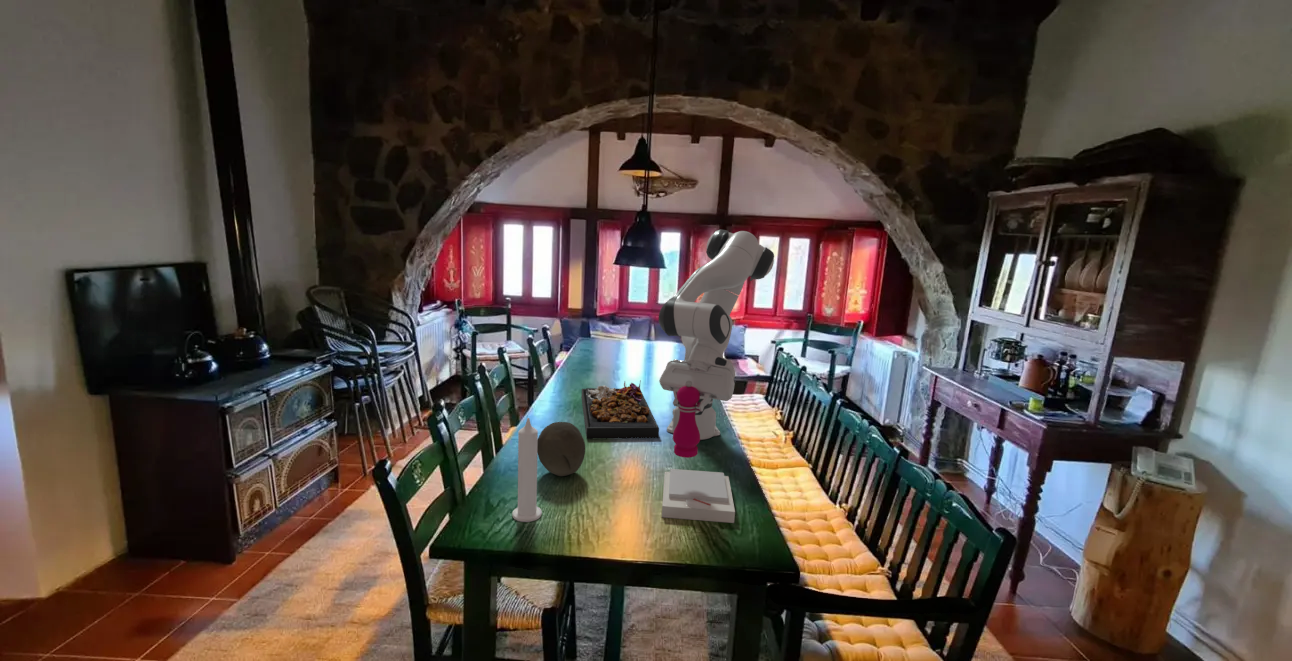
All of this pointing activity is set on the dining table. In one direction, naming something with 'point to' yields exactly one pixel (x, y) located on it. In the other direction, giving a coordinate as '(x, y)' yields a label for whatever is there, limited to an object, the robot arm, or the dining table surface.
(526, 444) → the candle
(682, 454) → the pepper mill
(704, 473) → the kitchen scale
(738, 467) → the dining table surface
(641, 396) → the food platter
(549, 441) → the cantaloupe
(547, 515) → the dining table surface
